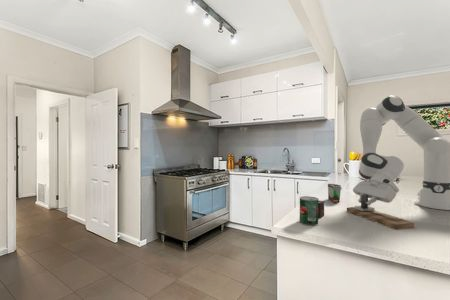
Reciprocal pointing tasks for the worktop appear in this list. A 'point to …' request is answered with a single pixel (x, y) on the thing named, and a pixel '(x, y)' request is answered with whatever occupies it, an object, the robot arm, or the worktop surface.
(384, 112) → the robot arm
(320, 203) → the box
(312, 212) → the canned tomato
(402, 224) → the brown wooden board
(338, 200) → the food container
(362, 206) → the slider
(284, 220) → the worktop surface
